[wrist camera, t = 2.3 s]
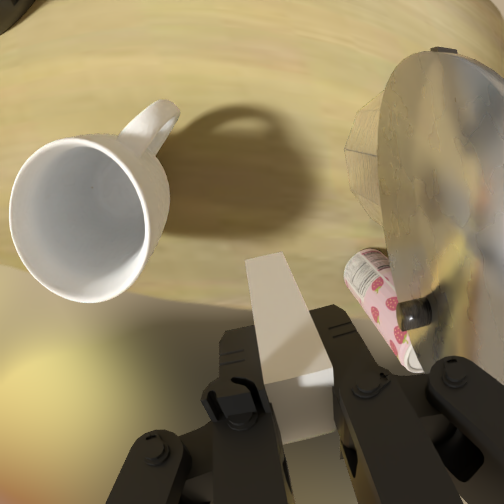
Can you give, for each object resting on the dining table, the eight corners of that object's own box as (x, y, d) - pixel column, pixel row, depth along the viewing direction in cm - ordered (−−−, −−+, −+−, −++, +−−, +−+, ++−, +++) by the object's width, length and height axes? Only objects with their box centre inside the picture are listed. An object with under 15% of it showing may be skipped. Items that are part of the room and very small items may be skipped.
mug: (140, 79, 24) (83, 48, 12) (229, 142, 28) (233, 150, 15) (65, 200, 28) (-8, 245, 16) (144, 257, 31) (105, 332, 19)
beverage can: (357, 299, 36) (415, 384, 22) (333, 269, 34) (393, 355, 20) (392, 270, 35) (464, 343, 21) (371, 237, 33) (450, 307, 19)
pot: (327, 63, 25) (372, 39, 16) (446, 65, 25) (504, 58, 16) (356, 266, 34) (397, 313, 25) (458, 237, 34) (508, 268, 25)
